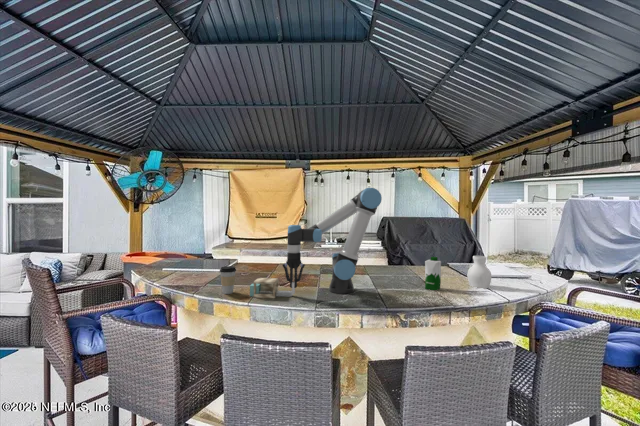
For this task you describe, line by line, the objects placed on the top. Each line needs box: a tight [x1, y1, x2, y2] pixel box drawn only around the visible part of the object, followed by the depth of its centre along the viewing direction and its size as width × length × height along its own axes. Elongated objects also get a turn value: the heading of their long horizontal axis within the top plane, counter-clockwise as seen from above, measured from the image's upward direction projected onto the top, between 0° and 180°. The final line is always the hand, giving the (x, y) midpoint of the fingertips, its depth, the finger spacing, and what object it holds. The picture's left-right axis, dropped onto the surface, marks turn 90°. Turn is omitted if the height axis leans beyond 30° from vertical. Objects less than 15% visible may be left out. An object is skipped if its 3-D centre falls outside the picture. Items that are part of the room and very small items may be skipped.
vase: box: [467, 255, 492, 289], centre depth 194 cm, size 14×14×20 cm
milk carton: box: [424, 256, 442, 291], centre depth 187 cm, size 9×9×20 cm
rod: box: [259, 290, 294, 298], centre depth 168 cm, size 19×3×3 cm, turn 88°
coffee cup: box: [219, 265, 237, 295], centre depth 173 cm, size 9×9×15 cm
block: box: [249, 283, 261, 297], centre depth 169 cm, size 5×5×6 cm
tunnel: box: [253, 277, 279, 299], centre depth 168 cm, size 12×9×9 cm
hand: (293, 293), depth 167 cm, fingers closed
